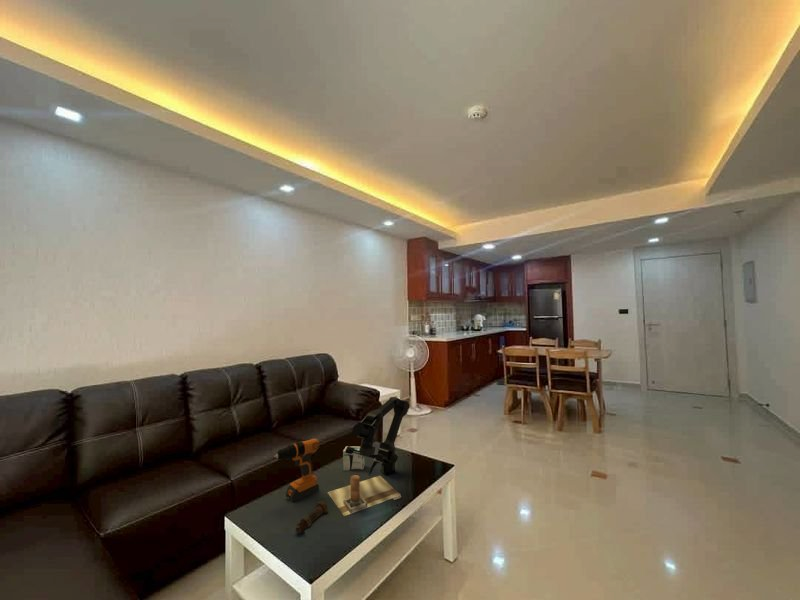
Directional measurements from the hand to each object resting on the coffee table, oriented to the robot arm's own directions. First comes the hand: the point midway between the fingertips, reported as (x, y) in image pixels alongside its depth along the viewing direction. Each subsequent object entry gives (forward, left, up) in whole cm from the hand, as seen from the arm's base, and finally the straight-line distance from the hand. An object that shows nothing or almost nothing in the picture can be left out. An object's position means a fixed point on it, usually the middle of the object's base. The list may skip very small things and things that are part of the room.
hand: (359, 473), depth 157 cm
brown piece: (+7, +11, -7) cm, 15 cm away
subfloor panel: (0, +5, -9) cm, 10 cm away
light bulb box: (-7, -23, -9) cm, 25 cm away
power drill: (+26, -11, -9) cm, 30 cm away
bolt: (+27, +10, -9) cm, 30 cm away
